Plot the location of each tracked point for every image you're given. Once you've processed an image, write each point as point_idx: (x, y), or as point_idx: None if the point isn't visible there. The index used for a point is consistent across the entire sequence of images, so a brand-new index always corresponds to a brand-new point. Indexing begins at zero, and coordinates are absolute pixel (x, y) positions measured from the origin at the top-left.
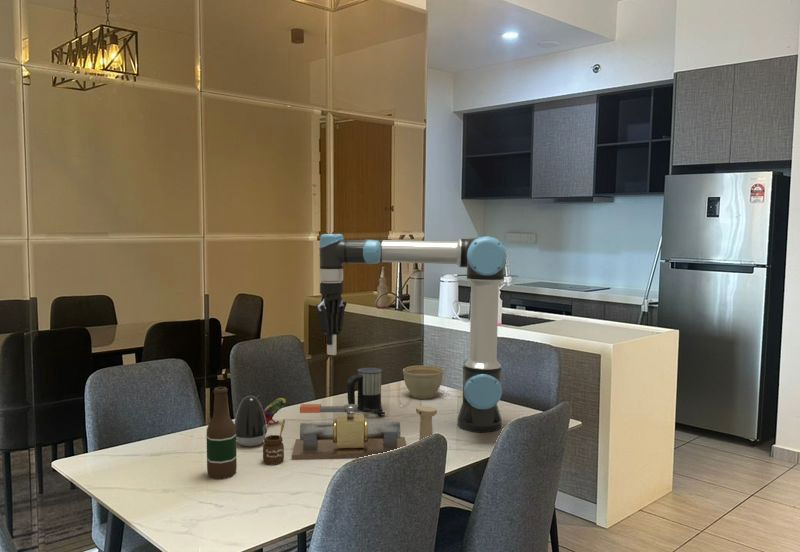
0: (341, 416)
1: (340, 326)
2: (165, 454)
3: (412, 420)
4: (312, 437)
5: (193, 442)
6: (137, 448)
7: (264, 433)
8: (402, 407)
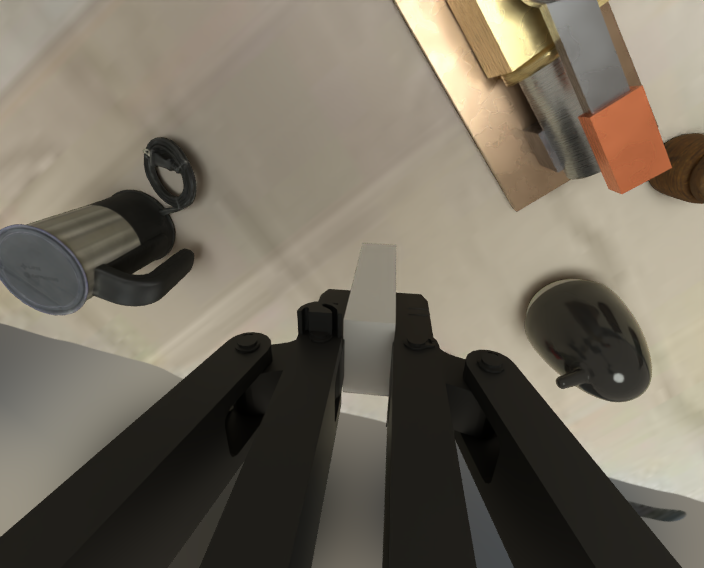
0: (530, 35)
1: (233, 371)
2: (692, 405)
3: (122, 25)
4: None
5: (596, 408)
6: (669, 464)
7: (576, 281)
8: (54, 148)
